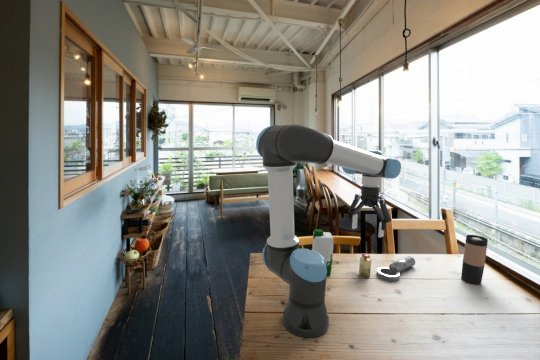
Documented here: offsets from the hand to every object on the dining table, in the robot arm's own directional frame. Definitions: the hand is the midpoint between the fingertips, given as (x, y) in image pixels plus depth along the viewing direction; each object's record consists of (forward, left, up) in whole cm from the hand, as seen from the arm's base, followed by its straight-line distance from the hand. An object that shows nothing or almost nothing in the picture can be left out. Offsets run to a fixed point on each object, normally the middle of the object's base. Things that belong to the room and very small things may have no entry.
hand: (367, 232), depth 123 cm
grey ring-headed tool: (+14, -8, -20) cm, 25 cm away
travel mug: (+34, -30, -20) cm, 50 cm away
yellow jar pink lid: (-2, -1, -20) cm, 20 cm away
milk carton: (-16, +12, -20) cm, 28 cm away
